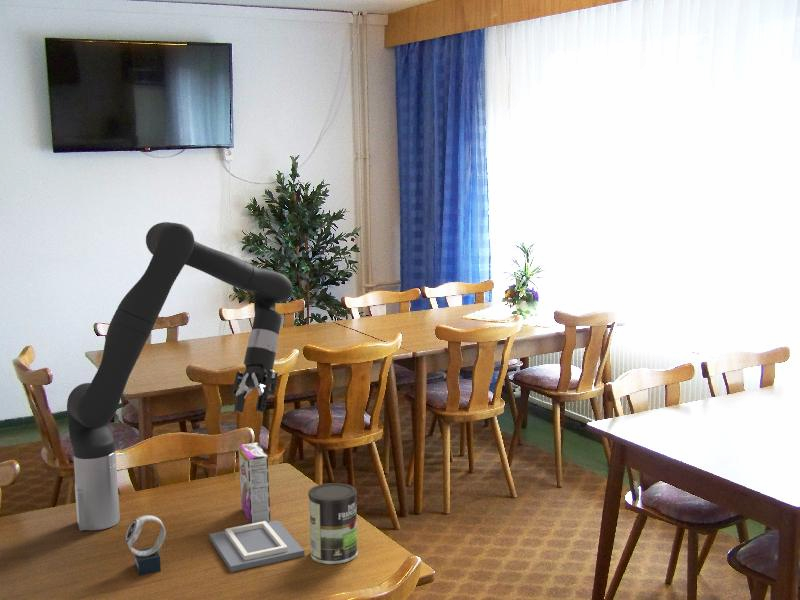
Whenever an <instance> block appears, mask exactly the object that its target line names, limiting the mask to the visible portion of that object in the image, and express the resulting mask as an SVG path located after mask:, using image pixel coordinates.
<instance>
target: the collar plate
mask: <svg viewBox="0 0 800 600" xmlns="http://www.w3.org/2000/svg"><path fill="white" fill-rule="evenodd" d="M209 540H210V542H211V543H212V545H213V546H214V548H215V549H216V552H217V553H218V554H219V556H220V557H221V559H222V560H223V562H224V563H225V565H226V567H227V568H228V570H229V571H230V573H233V572H238V571H242V570H246V569H251V568H255V567H260V566H265V565H268V564H273V563H279V562H282V561H286V560H287V561H288V560H291V559H296V558H301V557H304V556H305V550H304V548H303V547H302V546H301V545H300V544H299V542H298V541H297V540H296V539H295V538H294V537H293V535H291V533H290V531H289V532H288V530H287V529H286V528H285V527H284V526H283V525H282V523H281V522H280V521H279V520H278V519H277V520H272V521H271V520H270V522H266V521H262V522H257V523H252V524H251V523H248V524H244V525H238V526H233V527H229V528H228V527H227V528H225V529H224V530H223V531H222V530H220V531H217V532H212V533H209Z"/></svg>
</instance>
